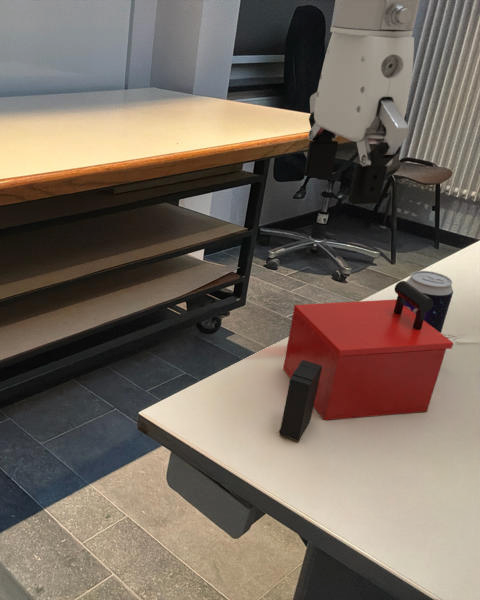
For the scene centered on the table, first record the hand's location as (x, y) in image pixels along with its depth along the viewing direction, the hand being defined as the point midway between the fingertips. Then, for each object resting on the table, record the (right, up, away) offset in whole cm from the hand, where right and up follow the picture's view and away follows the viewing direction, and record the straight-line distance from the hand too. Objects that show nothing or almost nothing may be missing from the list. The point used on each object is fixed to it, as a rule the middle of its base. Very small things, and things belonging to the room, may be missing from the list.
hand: (339, 188), depth 73 cm
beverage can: (+17, -20, +20) cm, 33 cm away
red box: (+6, -23, +12) cm, 27 cm away
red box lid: (+7, -16, +9) cm, 19 cm away
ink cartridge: (-3, -27, +5) cm, 28 cm away
